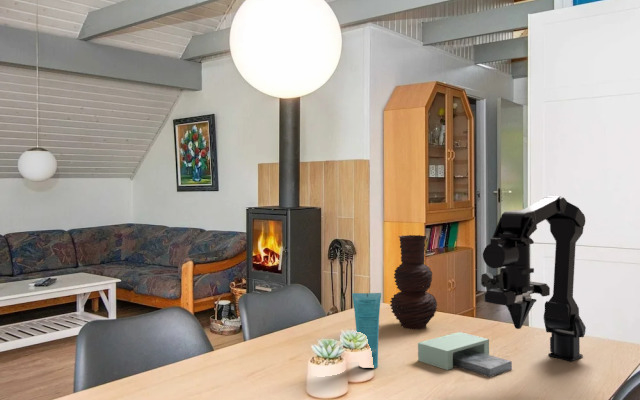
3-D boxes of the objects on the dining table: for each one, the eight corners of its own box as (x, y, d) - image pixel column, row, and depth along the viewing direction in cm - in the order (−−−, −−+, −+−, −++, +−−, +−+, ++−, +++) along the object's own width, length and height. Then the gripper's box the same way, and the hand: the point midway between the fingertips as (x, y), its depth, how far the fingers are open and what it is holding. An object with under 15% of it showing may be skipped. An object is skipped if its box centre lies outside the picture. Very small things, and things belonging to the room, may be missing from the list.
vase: (382, 323, 191) (381, 235, 190) (423, 319, 196) (422, 233, 195) (402, 334, 177) (401, 239, 176) (446, 329, 181) (444, 237, 180)
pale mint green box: (489, 356, 152) (489, 339, 152) (447, 370, 142) (447, 351, 142) (459, 348, 160) (459, 331, 160) (418, 360, 150) (418, 342, 150)
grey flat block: (511, 369, 142) (511, 361, 142) (489, 377, 136) (489, 368, 136) (454, 353, 156) (454, 345, 156) (433, 359, 151) (432, 351, 151)
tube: (380, 363, 149) (379, 290, 148) (384, 369, 144) (382, 294, 143) (352, 364, 148) (351, 291, 147) (355, 370, 143) (354, 295, 143)
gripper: (511, 257, 147) (511, 316, 147) (465, 264, 136) (466, 328, 136) (550, 261, 138) (551, 324, 139) (505, 269, 127) (505, 338, 127)
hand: (517, 328), depth 135 cm, fingers closed
